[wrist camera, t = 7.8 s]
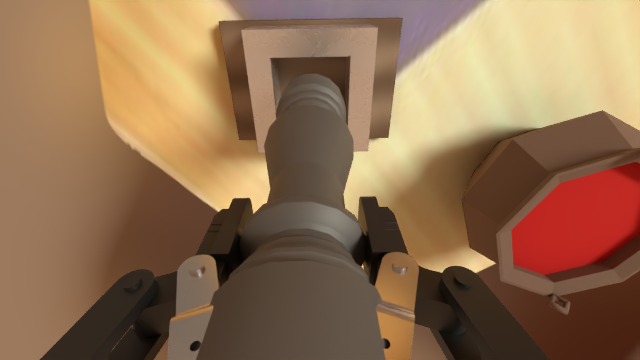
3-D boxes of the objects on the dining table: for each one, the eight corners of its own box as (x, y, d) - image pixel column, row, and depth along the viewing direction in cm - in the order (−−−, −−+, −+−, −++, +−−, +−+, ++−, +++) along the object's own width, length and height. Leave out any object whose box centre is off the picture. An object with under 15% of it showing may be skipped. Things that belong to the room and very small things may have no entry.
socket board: (222, 20, 33) (218, 21, 31) (399, 17, 33) (402, 18, 31) (242, 135, 40) (239, 140, 39) (386, 133, 40) (388, 137, 39)
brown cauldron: (464, 91, 37) (552, 145, 23) (647, 94, 37) (842, 149, 24) (425, 231, 50) (466, 321, 36) (562, 233, 50) (656, 322, 36)
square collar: (251, 26, 32) (241, 29, 27) (369, 24, 32) (377, 27, 27) (265, 136, 38) (258, 153, 34) (362, 134, 38) (367, 151, 34)
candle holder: (356, 113, 28) (472, 461, 7) (306, 147, 30) (277, 501, 9) (318, 58, 25) (320, 350, 4) (266, 99, 27) (88, 443, 6)
